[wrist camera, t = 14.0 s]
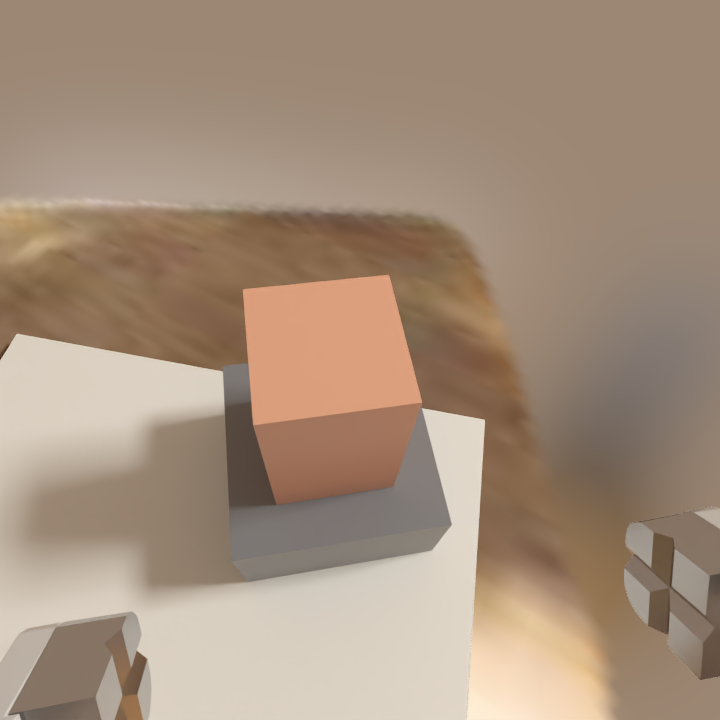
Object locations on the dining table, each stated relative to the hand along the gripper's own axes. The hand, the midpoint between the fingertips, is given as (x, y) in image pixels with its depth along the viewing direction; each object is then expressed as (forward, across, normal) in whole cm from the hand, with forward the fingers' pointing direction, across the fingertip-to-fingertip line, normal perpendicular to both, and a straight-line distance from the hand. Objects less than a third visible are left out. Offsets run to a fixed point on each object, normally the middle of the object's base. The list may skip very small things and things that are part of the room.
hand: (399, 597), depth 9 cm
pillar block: (+15, 0, +3) cm, 15 cm away
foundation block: (+18, 0, +7) cm, 20 cm away
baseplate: (+18, +7, +9) cm, 21 cm away
